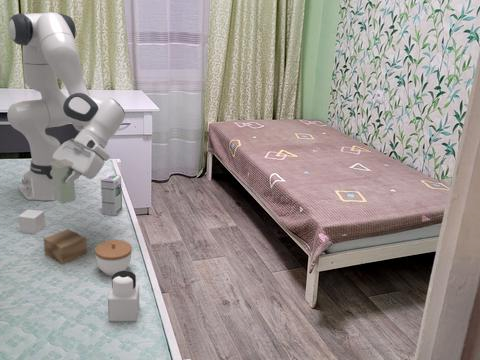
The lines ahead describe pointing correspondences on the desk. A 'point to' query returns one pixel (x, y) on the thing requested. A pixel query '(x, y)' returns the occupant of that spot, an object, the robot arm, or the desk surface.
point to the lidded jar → (113, 256)
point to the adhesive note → (31, 221)
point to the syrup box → (111, 194)
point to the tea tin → (62, 181)
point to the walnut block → (65, 246)
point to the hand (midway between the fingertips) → (61, 181)
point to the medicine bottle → (123, 297)
